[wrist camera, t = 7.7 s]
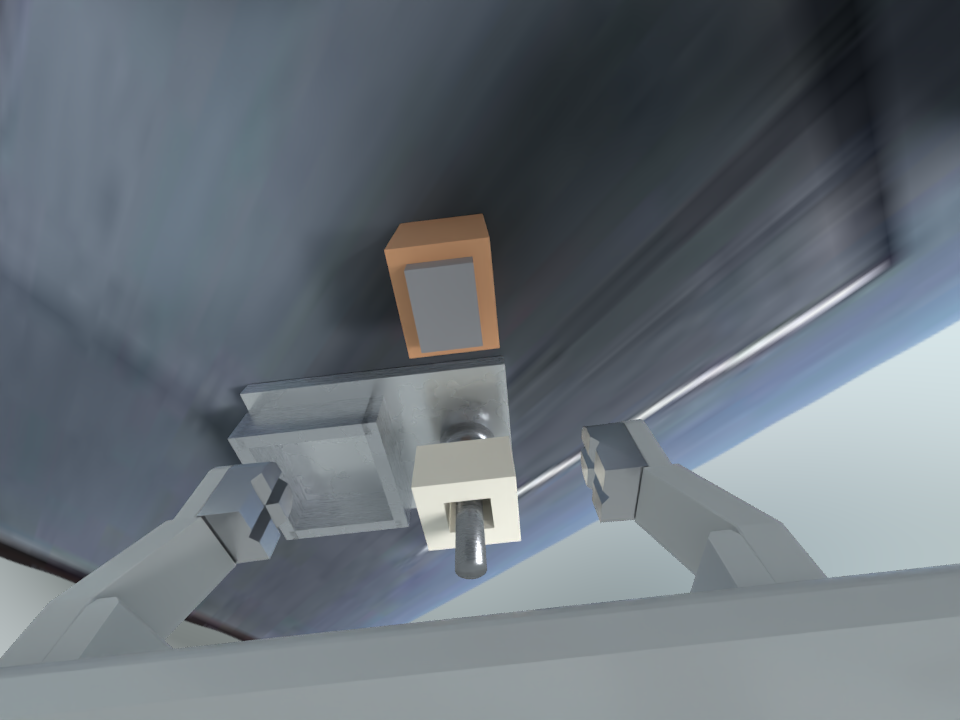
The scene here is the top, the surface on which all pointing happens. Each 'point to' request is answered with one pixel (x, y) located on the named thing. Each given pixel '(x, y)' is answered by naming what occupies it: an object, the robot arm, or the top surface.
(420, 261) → the block
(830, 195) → the top surface
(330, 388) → the chassis
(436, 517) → the square housing
